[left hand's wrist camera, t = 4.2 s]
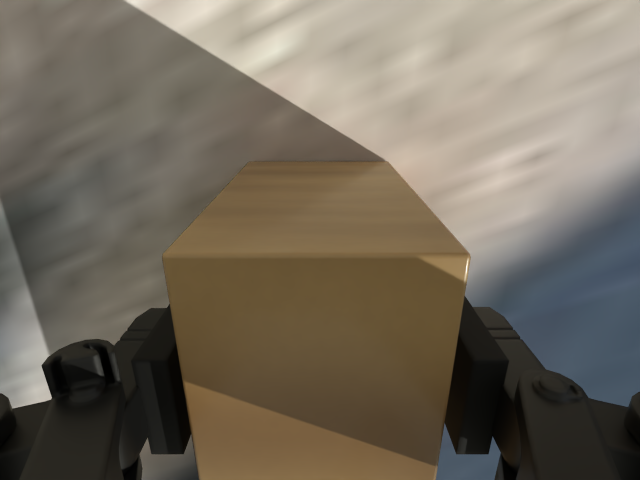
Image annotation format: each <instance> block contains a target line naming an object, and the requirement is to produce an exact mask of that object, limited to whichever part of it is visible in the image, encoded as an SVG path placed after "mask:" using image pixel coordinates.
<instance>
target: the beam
mask: <svg viewBox="0 0 640 480" xmlns="http://www.w3.org/2000/svg"><path fill="white" fill-rule="evenodd" d="M470 258H471V257H470V254H469V252H468V251H467V250H466V249H465V248H464V247H463V246H462V245H461V243H460V242H459V241H458V240H457V239H456V238H455V237H454V235H453V234H452V233H451V232H450V231H449V230H448V229H447V228H446V226H445V225H444V224H443V223H442V222H441V221H440V220H439V219H438V217H437V216H436V215H435V214H434V213H433V212H432V211H431V210H430V208H429V207H428V206H427V205H426V204H425V203H424V202H423V201H422V199H421V198H420V197H419V196H418V195H417V194H416V193H415V191H414V190H413V189H412V188H411V187H410V186H409V185H408V184H407V182H406V181H405V180H404V179H403V178H402V177H401V176H400V175H399V173H398V172H397V171H396V170H395V169H394V168H393V167H392V166H391V164H390V163H389V162H248V163H247V164H246V165H245V166H244V168H243V169H242V170H241V171H240V172H239V173H238V174H237V175H236V176H235V177H234V178H233V179H232V180H231V181H230V183H229V184H228V185H227V186H226V187H225V188H224V189H223V190H222V191H221V192H220V193H219V194H218V195H217V196H216V198H215V199H214V200H213V201H212V202H211V203H210V204H209V205H208V206H207V207H206V208H205V209H204V210H203V211H202V212H201V214H200V215H199V216H198V217H197V218H196V219H195V220H194V221H193V222H192V223H191V224H190V225H189V226H188V227H187V229H186V230H185V231H184V232H183V233H182V234H181V235H180V236H179V237H178V238H177V239H176V240H175V241H174V242H173V243H172V245H171V246H170V247H169V248H168V249H167V250H166V251H165V252H164V253H163V256H162V260H163V266H164V272H165V278H166V284H167V290H168V296H169V302H170V308H171V314H172V320H173V326H174V332H175V338H176V344H177V350H178V356H179V362H180V368H181V374H182V380H183V386H184V392H185V398H186V404H187V410H188V417H189V423H190V429H191V435H192V441H193V447H194V453H195V459H196V465H197V471H198V477H199V480H435V479H436V473H437V467H438V460H439V454H440V448H441V441H442V435H443V429H444V422H445V416H446V410H447V403H448V397H449V391H450V384H451V378H452V372H453V365H454V359H455V353H456V346H457V340H458V334H459V327H460V321H461V315H462V308H463V302H464V296H465V289H466V283H467V277H468V271H469V264H470Z"/></svg>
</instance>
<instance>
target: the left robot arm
mask: <svg viewBox="0 0 640 480" xmlns="http://www.w3.org/2000/svg"><path fill="white" fill-rule="evenodd" d="M42 369H43V372H44V375H45V378H46V381H47V384H48V387H49V390H50V393H51V396H52V399H51V400H49V401H45V402H41V403H36V404H32V405H27V406H23V407H18V408H14V409H12V406H11V404H10V401H9V399H8V398H7V397H6V396H5V395H3V394H0V480H141V477H142V464H141V459H140V452H141V450H142V448H143V446H144V444H145V441H146V439H147V437H148V440H149V445H150V449H151V454H184V452H185V449H186V446H187V444H188V441H189V438H190V435H191V429H190V423H189V417H188V410H187V404H186V398H185V392H184V386H183V380H182V374H181V368H180V362H179V356H178V350H177V344H176V338H175V332H174V326H173V320H172V314H171V308H170V304H169V306H168V307H167V308H151V309H149V310H148V311H146V312H145V313H143V314H142V315H140V316H139V317H137V318H136V319H135V320H134V322H133V323H132V324H131V325H130V327H129V328H128V331H126V332H125V333H124V334H123V335H122V337H121V338H120V341H118V342H117V343H116V344H115V346H113V345H112V344H111V343H110V342H108V341H105V340H100V339H92V340H84V341H80V342H76V343H73V344H70V345H68V346H66V347H64V348H61V349H59V350H58V351H56V352H55V353H53V354H52V355H51V356H49V357H48V358H47V359H46V361H45V362H44V363H43V364H42ZM445 425H446V427H447V430H448V433H449V435H450V438H451V441H452V444H453V446H454V449H455V452H456V454H489V449H490V445H491V440H492V436H493V438H494V440H495V442H496V444H497V446H498V448H499V450H500V452H501V454H500V459H499V463H498V467H497V471H496V475H495V480H640V392H638V393H637V394H635V395H634V396H632V399H631V401H630V404H629V407H625V406H620V405H616V404H611V403H607V402H602V401H598V400H594V399H590V398H588V396H587V395H586V393H585V392H584V390H583V389H582V388H581V387H580V386H579V385H577V384H576V383H575V382H574V381H572V380H571V379H569V378H567V377H565V376H563V375H561V374H559V373H556V372H552V371H549V370H546V369H545V368H544V367H543V365H542V364H541V363H540V361H539V360H538V359H537V358H536V356H535V355H534V354H533V353H532V351H531V350H530V349H529V348H528V346H527V345H526V344H525V343H524V341H523V340H522V339H520V336H519V335H518V334H517V333H516V331H515V330H513V328H512V326H511V325H510V324H509V322H508V321H507V320H506V319H505V317H504V316H502V315H501V314H499V313H498V312H496V311H495V310H493V309H491V308H490V307H472V306H471V304H470V303H469V301H468V300H467V298H466V297H465V296H464V302H463V308H462V315H461V321H460V327H459V334H458V340H457V346H456V353H455V359H454V365H453V372H452V378H451V384H450V391H449V397H448V403H447V410H446V416H445Z"/></svg>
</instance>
